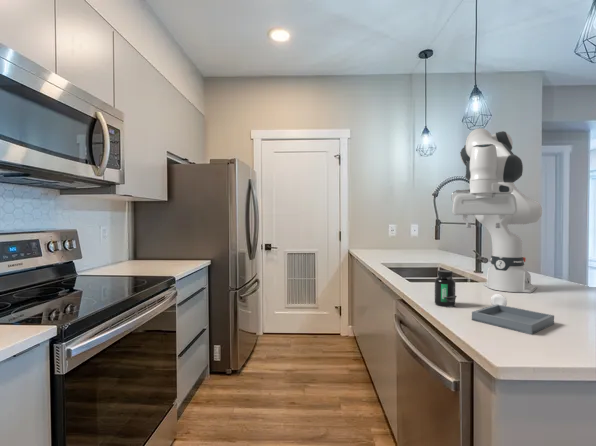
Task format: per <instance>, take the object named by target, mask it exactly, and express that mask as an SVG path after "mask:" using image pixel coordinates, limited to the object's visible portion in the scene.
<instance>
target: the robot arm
mask: <svg viewBox="0 0 596 446" xmlns="http://www.w3.org/2000/svg"><path fill="white" fill-rule="evenodd" d="M512 149H513V139H512V137H511V136H510V134H509V133H507V132H506V131H497V132H495V133H493V134H491V132H490V131H489V130H488V129H485V128H480V127H479V128H475V129H473V130H472V131H471V132H470V133H469V134H468V135H467V137H466V141H465V145H464V147H462V148H461V150H460V151H459V152H460V153H459V154H460V161H461V162H462V163H463V164H464V166H465V179H466V180H467V181H469V189H456V190H455V191H453V192H451V197H450V198H451V201H452V208H451V213H452V215H453V216H462V219H463V221H464V222H465V223H464V224H465V228H466V229H471V228H472V223H471V222H469V221H468V220H467V219H468V216H474V217H475V219H476V220H477V222H479V223H480V224H481V225H483V226H484V227H485V228H486V230H487V231H488V233H489V235H490V238H491V249H492V251H491V252H492V253H491V254H492V255H491V256H490V264H491V265H490V266H489V267H488V268H487V274H486V275H487V276H486V282H484V283H483V286H484V287H487V288H488V289H491V290H495V291H500V292H510V293H530V294H531V293H532V292H534V291H535V290H536V289H537V288H538V286H537V285H536V284H533V283H532V281H531V280H532V278H531V273H530V272H529V271H528V270H527V269H526V267H525V263H526V261H527V259H526V257H525V256H524V257H523V239H522V238H521V237H520V236H519V235H517V234H516V233H514V232H512V231H510V229H509V226H508V225H528V224H534V223H537V222H538V221H539V220H540V219H541V217H542V214H543V209H542V206H541V204H540V203H539V202H538V201H537V200H534V199H532V198H530V197H528V196H526V195H525V194H523V193H522V191H520V190H519V189H518V188H517V187H516V185H515V182H516V181H518V180H519V179H520V178H521V177H522V176H523V173H524V164H523V161H522V159H521V158H520V157H519V156H518V155H516V154H515V153H514V152H513V151H512Z"/></svg>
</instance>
